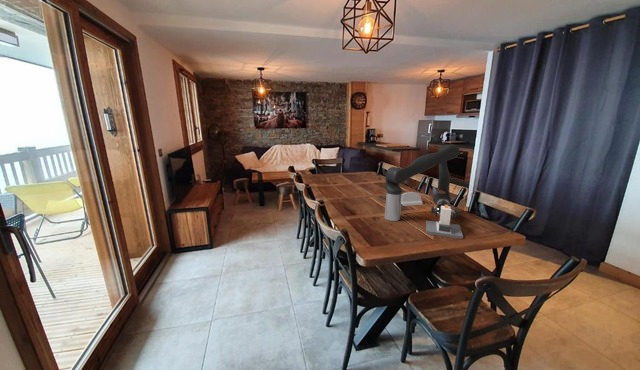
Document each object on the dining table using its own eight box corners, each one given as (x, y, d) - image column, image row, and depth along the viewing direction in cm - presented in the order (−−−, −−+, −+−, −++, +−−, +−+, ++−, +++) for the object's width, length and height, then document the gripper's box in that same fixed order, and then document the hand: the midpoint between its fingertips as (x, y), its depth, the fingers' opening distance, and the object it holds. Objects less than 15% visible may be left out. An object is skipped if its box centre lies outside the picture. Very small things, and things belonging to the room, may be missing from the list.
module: (439, 229, 139) (442, 206, 135) (438, 225, 144) (441, 202, 141) (448, 230, 137) (451, 207, 134) (447, 226, 143) (450, 203, 139)
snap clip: (438, 230, 137) (439, 225, 136) (438, 228, 139) (439, 223, 138) (450, 232, 135) (450, 227, 134) (449, 230, 137) (450, 225, 136)
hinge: (402, 205, 184) (401, 192, 184) (399, 206, 188) (398, 192, 189) (423, 204, 186) (421, 191, 187) (419, 204, 191) (418, 191, 192)
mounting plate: (426, 233, 139) (426, 229, 138) (426, 222, 153) (426, 219, 153) (462, 238, 132) (463, 235, 132) (459, 227, 147) (459, 223, 146)
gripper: (431, 199, 154) (432, 207, 140) (457, 201, 149) (460, 210, 135) (430, 210, 156) (430, 220, 142) (455, 213, 151) (458, 223, 136)
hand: (445, 215), depth 138 cm, fingers open, 8 cm apart
